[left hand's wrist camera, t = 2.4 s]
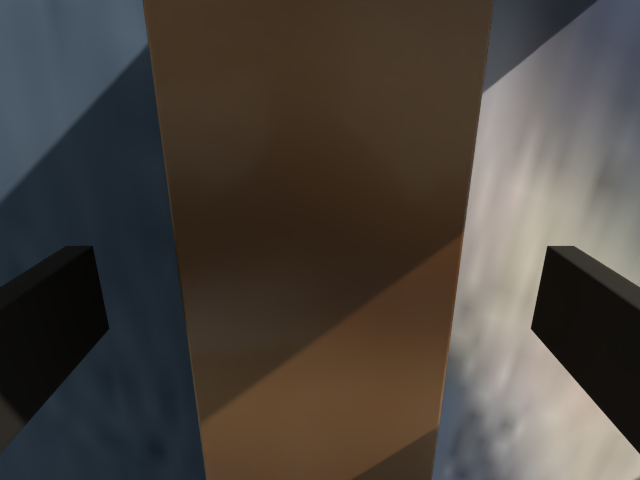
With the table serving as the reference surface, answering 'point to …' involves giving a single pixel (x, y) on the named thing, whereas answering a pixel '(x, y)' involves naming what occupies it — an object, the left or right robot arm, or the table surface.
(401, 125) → the post
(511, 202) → the table surface
